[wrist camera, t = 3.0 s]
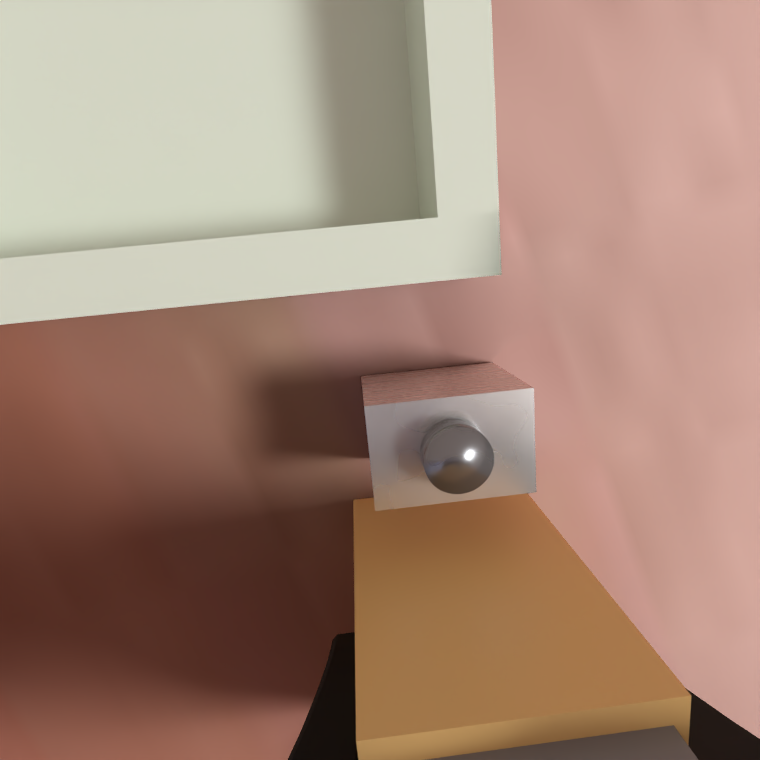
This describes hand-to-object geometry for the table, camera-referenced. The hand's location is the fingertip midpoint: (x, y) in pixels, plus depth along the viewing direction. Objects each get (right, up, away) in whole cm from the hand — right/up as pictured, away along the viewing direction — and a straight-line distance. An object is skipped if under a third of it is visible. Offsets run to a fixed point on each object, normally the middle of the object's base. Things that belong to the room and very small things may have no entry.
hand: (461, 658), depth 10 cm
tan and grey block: (0, 0, +2) cm, 2 cm away
